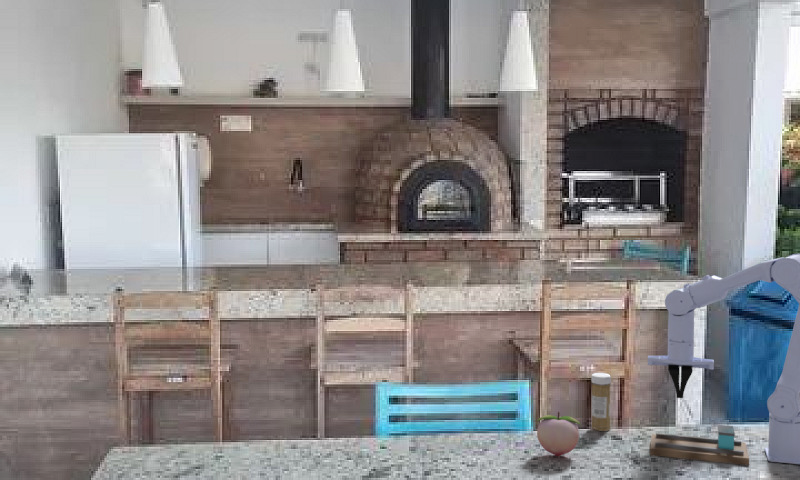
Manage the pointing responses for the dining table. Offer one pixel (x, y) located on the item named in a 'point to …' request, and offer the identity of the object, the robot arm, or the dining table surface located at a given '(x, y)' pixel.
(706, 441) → the fader console
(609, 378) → the sprinkles bottle
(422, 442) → the dining table surface
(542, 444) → the decorative fruit
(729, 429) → the fader tab
